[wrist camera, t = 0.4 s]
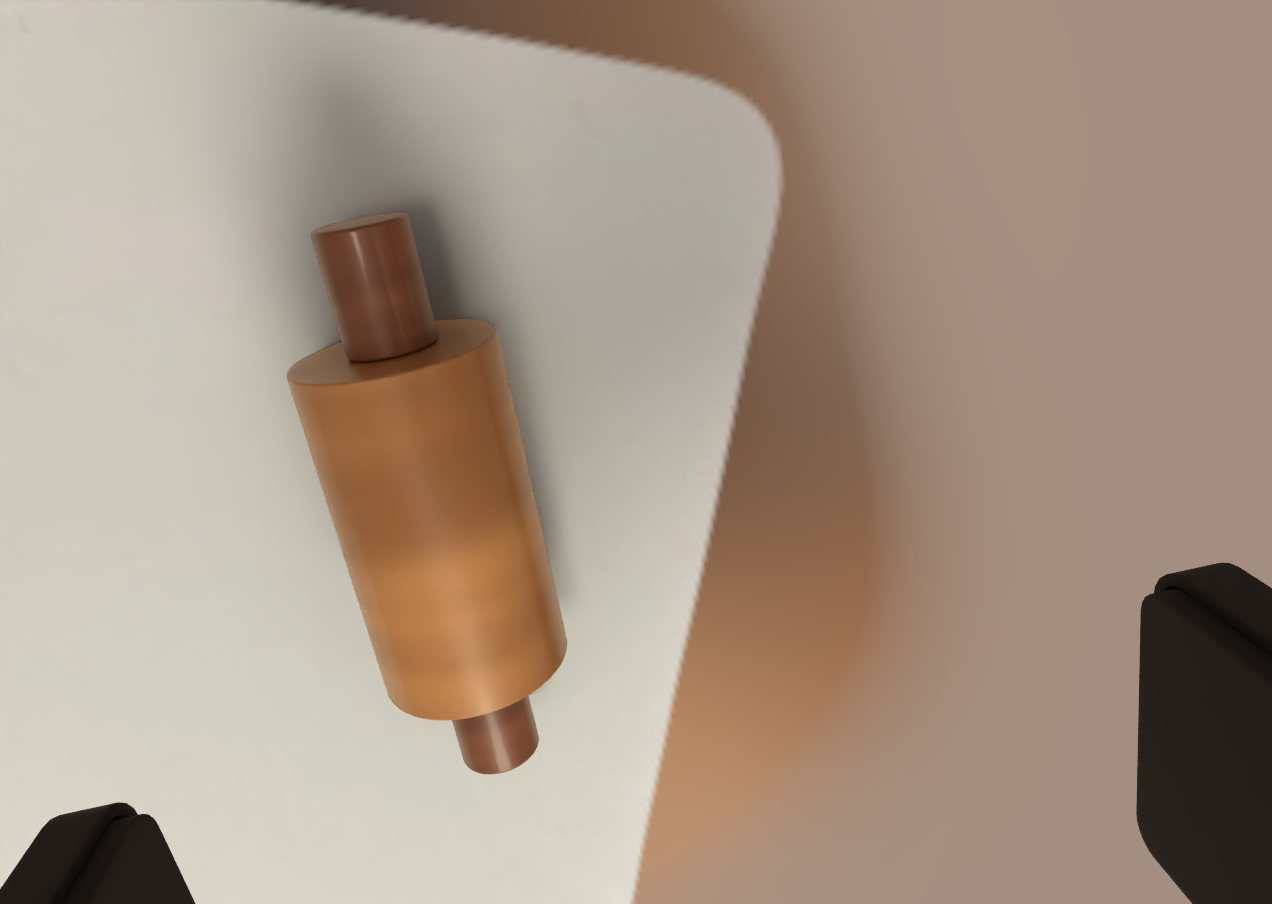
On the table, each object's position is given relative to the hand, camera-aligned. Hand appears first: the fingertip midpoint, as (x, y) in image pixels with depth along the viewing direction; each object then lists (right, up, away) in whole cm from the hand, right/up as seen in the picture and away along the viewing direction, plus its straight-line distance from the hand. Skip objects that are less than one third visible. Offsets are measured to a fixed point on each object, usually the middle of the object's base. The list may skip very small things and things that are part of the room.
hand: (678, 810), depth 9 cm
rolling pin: (-5, +2, +15) cm, 16 cm away
